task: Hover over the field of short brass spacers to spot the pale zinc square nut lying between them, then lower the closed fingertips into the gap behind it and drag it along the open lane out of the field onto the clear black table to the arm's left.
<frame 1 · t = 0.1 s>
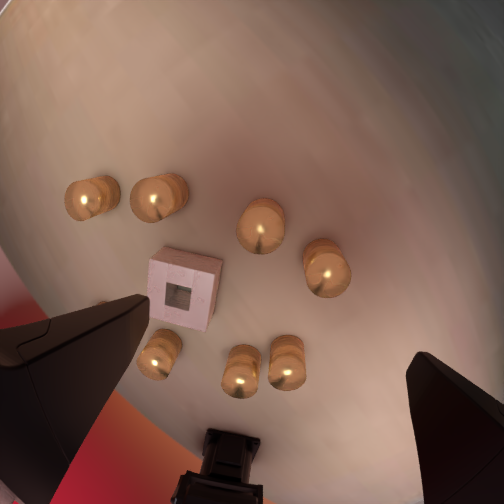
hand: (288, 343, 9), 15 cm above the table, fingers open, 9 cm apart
zinc nut: (189, 281, 25), on the table
spacers: (189, 281, 25), on the table
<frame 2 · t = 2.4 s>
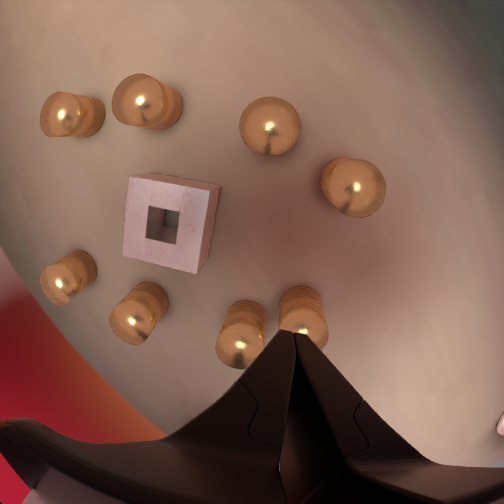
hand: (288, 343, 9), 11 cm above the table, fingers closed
zinc nut: (178, 214, 20), on the table
spacers: (178, 214, 20), on the table
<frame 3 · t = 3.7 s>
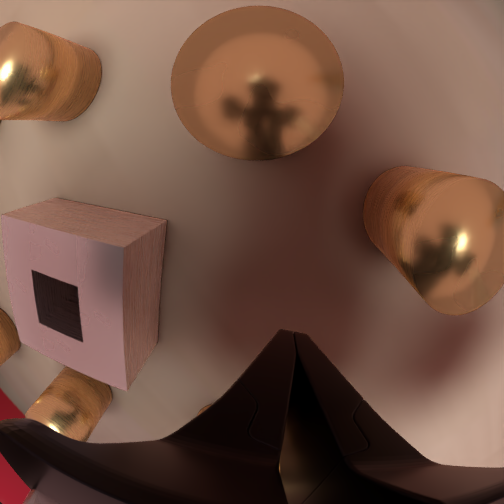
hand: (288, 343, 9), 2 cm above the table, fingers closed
zinc nut: (102, 271, 10), on the table
spacers: (102, 271, 10), on the table
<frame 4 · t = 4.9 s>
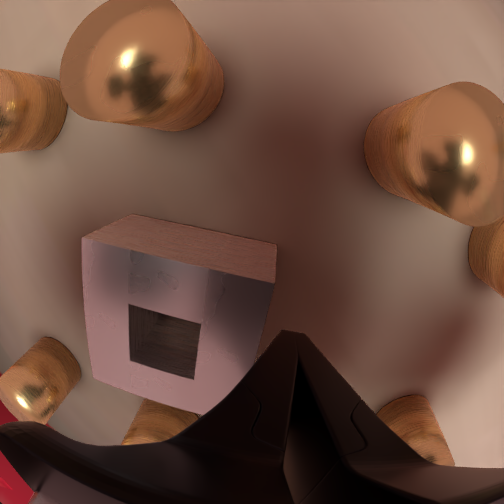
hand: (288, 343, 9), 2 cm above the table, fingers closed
zinc nut: (191, 296, 10), on the table, touching gripper
spacers: (217, 304, 10), on the table
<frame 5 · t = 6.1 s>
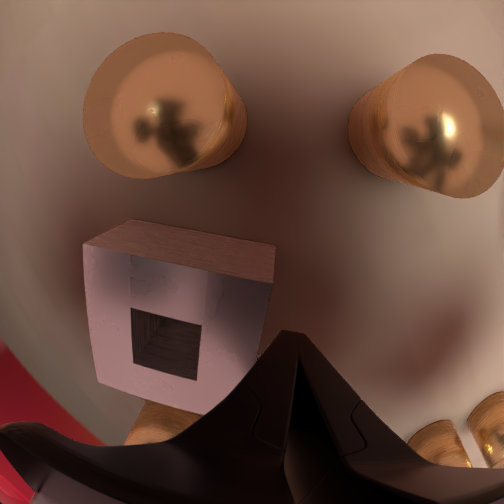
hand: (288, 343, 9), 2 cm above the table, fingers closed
zinc nut: (192, 298, 11), on the table, touching gripper
spacers: (395, 337, 10), on the table
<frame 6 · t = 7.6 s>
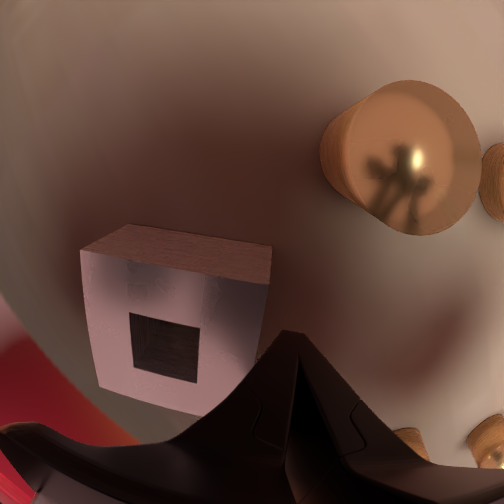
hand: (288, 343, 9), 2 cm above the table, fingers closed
zinc nut: (191, 301, 11), on the table, touching gripper
spacers: (482, 346, 10), on the table
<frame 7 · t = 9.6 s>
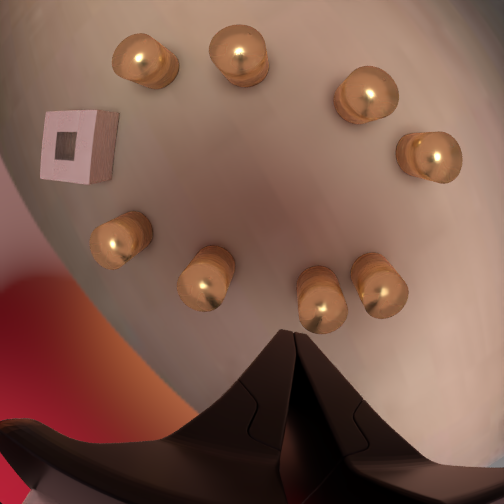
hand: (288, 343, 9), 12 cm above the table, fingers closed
zinc nut: (88, 144, 19), on the table
spacers: (258, 174, 19), on the table
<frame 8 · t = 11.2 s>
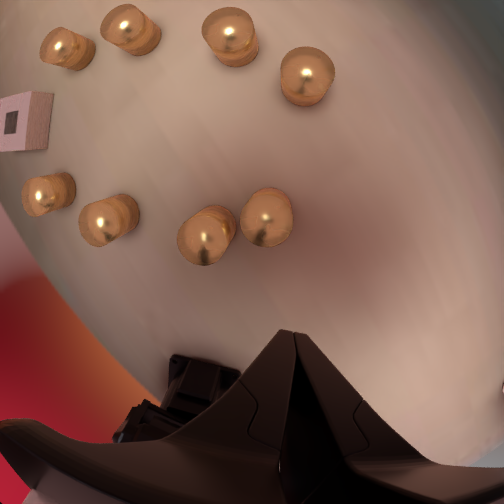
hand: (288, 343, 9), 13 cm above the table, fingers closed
zinc nut: (32, 122, 20), on the table
spacers: (152, 125, 20), on the table
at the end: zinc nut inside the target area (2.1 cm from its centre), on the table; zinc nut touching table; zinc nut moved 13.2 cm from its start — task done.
